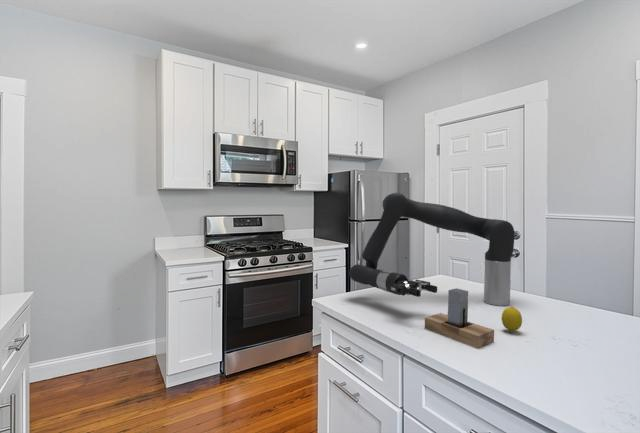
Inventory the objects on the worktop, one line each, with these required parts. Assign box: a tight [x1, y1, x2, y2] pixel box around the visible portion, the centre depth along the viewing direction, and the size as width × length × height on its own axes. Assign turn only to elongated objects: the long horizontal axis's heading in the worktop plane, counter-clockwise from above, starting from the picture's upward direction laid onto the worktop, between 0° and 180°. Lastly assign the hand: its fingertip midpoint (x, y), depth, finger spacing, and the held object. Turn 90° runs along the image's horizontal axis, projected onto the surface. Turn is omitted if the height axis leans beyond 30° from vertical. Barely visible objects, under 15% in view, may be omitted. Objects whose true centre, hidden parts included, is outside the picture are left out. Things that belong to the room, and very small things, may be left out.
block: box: [447, 288, 469, 328], centre depth 103 cm, size 4×4×12 cm
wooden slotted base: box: [424, 312, 495, 349], centre depth 103 cm, size 8×18×4 cm, turn 35°
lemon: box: [501, 306, 523, 333], centre depth 106 cm, size 6×6×8 cm
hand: (428, 291), depth 112 cm, fingers open, 8 cm apart
